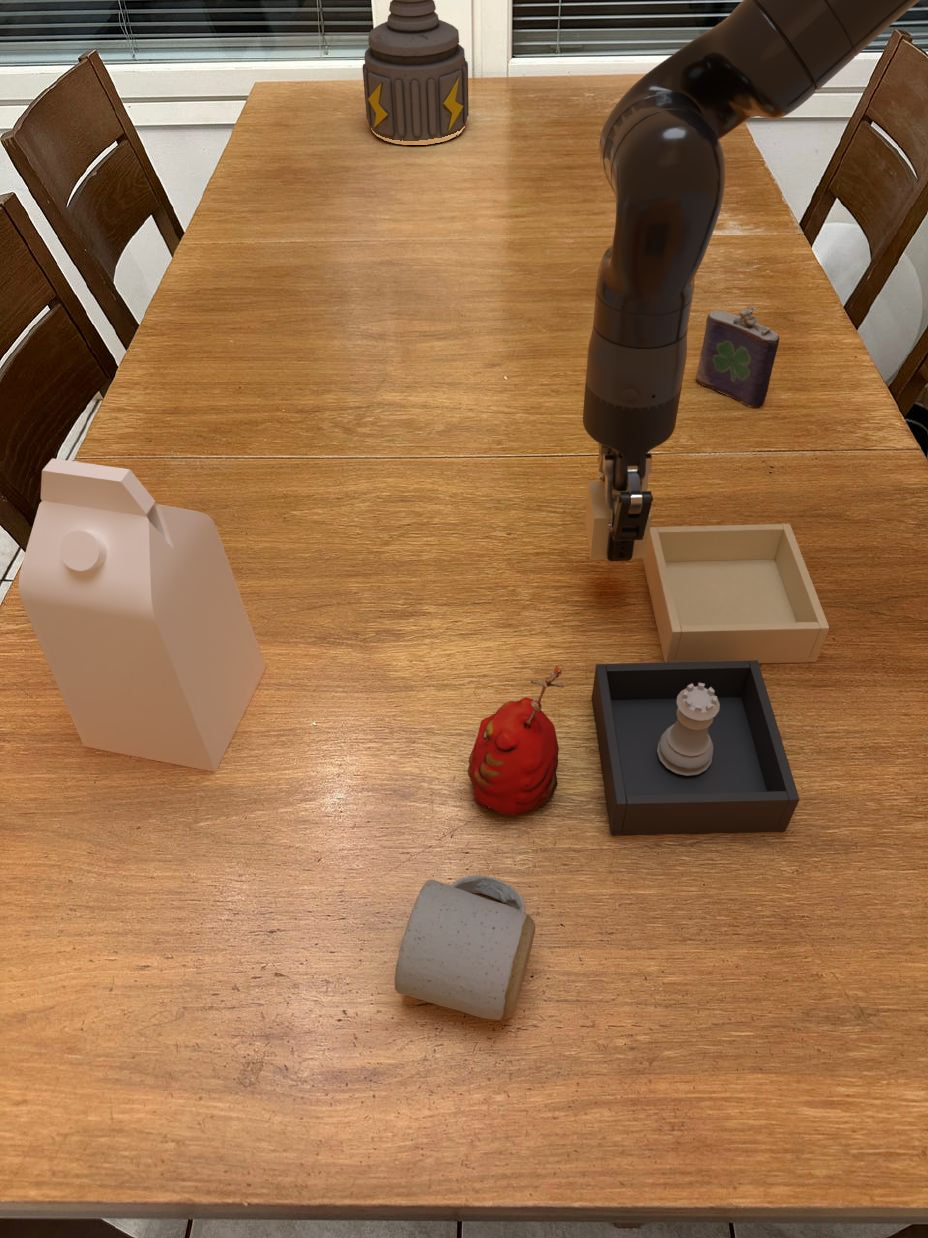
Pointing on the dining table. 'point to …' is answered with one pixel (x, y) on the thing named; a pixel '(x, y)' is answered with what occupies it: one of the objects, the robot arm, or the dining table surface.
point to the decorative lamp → (415, 75)
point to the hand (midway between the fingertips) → (614, 536)
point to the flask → (737, 356)
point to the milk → (138, 617)
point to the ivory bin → (733, 594)
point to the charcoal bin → (741, 763)
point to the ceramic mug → (466, 947)
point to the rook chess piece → (690, 732)
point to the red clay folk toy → (516, 756)
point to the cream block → (606, 524)
